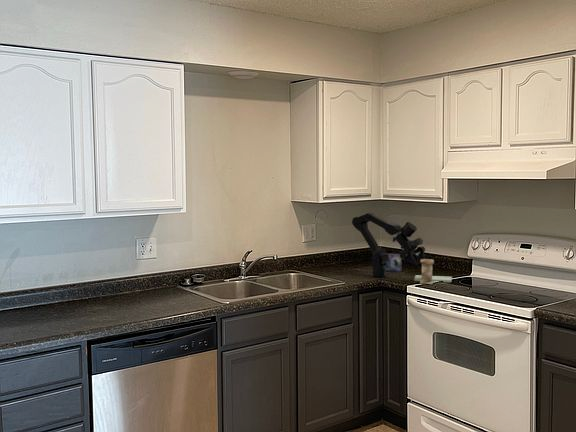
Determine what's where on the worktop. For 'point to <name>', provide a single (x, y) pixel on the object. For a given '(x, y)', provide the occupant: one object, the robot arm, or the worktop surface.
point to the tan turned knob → (426, 271)
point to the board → (435, 278)
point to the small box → (394, 263)
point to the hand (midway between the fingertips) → (421, 264)
